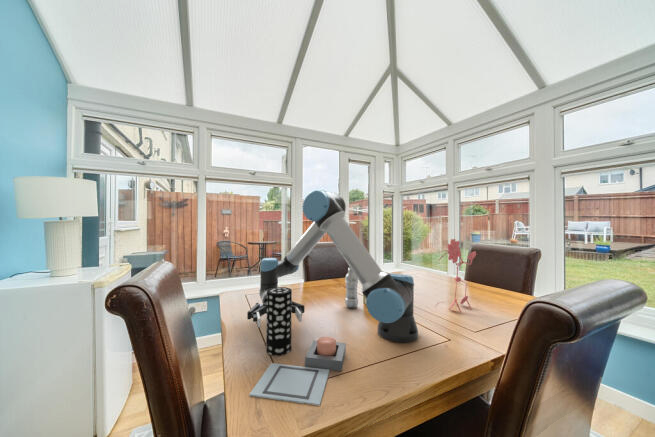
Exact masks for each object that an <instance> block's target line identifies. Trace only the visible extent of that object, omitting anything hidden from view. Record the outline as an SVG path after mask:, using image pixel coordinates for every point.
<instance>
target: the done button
mask: <svg viewBox="0 0 655 437" xmlns="http://www.w3.org/2000/svg"><path fill="white" fill-rule="evenodd" d="M336 342H337V340H336V339H335V338H334V337H330V336H322V337H320V338H318V339H317V355H324V356H333V357H336Z"/></svg>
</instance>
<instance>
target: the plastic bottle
mask: <svg viewBox="0 0 655 437" xmlns="http://www.w3.org/2000/svg"><path fill="white" fill-rule="evenodd" d="M344 280H345V292H346V293H345V299H344V300H345V301H344V303H345V306H346V307H347V308H349V309H355V308H358V307H359V306H358V305H359V298H358V285H359V284H358V282H359V279H358V278H357V277H356V275H355V274H354V272H353V271H352V269H351V268H350V266H348V268H347V273H346V274H345V277H344Z"/></svg>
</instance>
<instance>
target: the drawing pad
mask: <svg viewBox="0 0 655 437" xmlns="http://www.w3.org/2000/svg"><path fill="white" fill-rule="evenodd" d="M330 371H331V370H328V369H319V368H310V367H305V366H299V365H292V364H284V363H283V364H282V363H275V362H271V363H270V364H269V366H268V367H267V369H266V370H265V371H264V372H263V374H262V376H261V377H260V379H259V380H258V381H257V382H256V384H255V386H254V387H253V388H252V390H251V391H250V393H249V397H255V398H263V399H267V400H268V399H269V400H270V399H271V400H276V401H282V400H283V402H290V401H291V402H290V403H299V404H304V403H306V404H305V405H311V404H314V405H313V406H318V405H321V403H322V399H323V395H324V392H325V388H326V386H327V381H328V378H329V374H330Z"/></svg>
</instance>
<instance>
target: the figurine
mask: <svg viewBox="0 0 655 437" xmlns="http://www.w3.org/2000/svg"><path fill="white" fill-rule="evenodd" d="M460 244H461V243H460V241H459V240H456V238H451V239H450V243H447V245H446V246H447V251H446V252H445V253H444V254H442V256H441V257H440V258H439V259H438V261H440V260H442V258H443V257H445V255H447V254H448V257H447V258H448V261H450V260H451V261H452V264H455V265H456V276H455V278H454V281H455V293H454V300H453V302H452V303H451V305H450V307H449V308H448V310H451V309H452V308H453V306H454V305H455V304H456V307H457V308H458V310H459V313H460V312H461V313H462V310H461V309H460V306H459V304H460V305H461V306H462V305H463V304H464V303H467V305H468V307H469V309H470V308H471V309H472V307H471V304H470V302H469V301H468V299H469V296H468V295H467V285H468V284H467V282H466V281H463V280H462V278H461V277H460V276H458V274H459V273H458V272H459V267H460V266H461V265H462V264H466V265H469V266H471V265H472V263H473V260H474V259H475V258H476V256H477V252H476V250H475V251H472V252H470V253H469V254H468V256H467V259H468V261H470V262H469V263H468V262H465V261H463V260H464V259H463V258H462V252H461V247H460ZM459 259H460V260H461V261H460V262H458V260H459ZM459 282H462V283H464V284H465V294H464V297H463V298H462V299H461V300H460V303H459V304H458V301H457V300H458V298H456V297H457V289H458V288H457V286H458V285H457V283H459ZM441 303H443V301H441V302H440V304H441ZM437 305H438V303H436V304H435V306H437ZM477 307H480V306H479V305H477Z"/></svg>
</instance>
